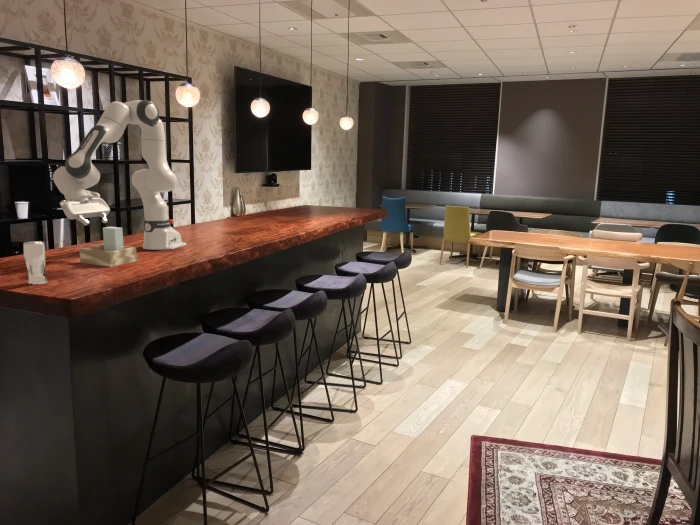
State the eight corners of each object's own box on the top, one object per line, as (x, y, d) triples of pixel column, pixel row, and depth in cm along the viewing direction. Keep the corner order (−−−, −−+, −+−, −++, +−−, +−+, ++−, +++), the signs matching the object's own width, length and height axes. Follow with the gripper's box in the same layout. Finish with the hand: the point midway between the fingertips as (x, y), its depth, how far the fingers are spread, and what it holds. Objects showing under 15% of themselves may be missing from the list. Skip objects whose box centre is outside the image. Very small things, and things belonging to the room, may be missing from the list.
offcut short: (104, 249, 246) (103, 243, 245) (110, 250, 244) (110, 243, 244) (90, 252, 240) (90, 245, 239) (97, 253, 238) (96, 246, 237)
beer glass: (28, 285, 201) (24, 244, 198) (25, 282, 207) (21, 242, 204) (49, 283, 205) (46, 243, 202) (46, 279, 211) (43, 240, 208)
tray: (107, 259, 251) (106, 243, 250) (137, 263, 243) (136, 247, 242) (80, 264, 239) (79, 248, 237) (111, 269, 231) (109, 252, 230)
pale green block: (112, 260, 243) (110, 226, 240) (124, 262, 240) (122, 227, 237) (105, 262, 239) (102, 227, 236) (117, 264, 236) (114, 228, 233)
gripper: (60, 195, 231) (79, 220, 229) (101, 193, 250) (118, 216, 247) (54, 205, 234) (72, 230, 232) (95, 202, 252) (112, 225, 250)
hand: (96, 223), depth 240 cm, fingers open, 8 cm apart
